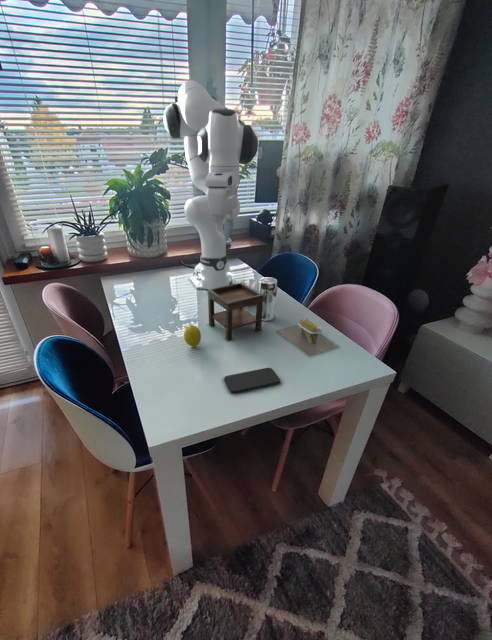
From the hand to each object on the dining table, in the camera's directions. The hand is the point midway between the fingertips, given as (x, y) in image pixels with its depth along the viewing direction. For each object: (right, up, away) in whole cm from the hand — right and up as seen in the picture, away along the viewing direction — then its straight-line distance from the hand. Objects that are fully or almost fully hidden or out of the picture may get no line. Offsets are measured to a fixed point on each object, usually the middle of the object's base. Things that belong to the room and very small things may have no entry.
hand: (224, 227), depth 103 cm
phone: (+8, -48, -10) cm, 50 cm away
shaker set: (+9, -19, +34) cm, 40 cm away
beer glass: (+16, -26, +24) cm, 39 cm away
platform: (+29, -35, +10) cm, 46 cm away
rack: (+4, -30, +17) cm, 35 cm away
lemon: (-11, -38, +7) cm, 40 cm away
